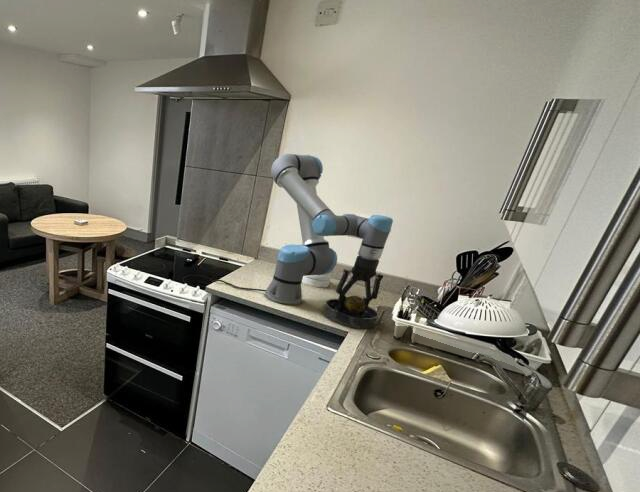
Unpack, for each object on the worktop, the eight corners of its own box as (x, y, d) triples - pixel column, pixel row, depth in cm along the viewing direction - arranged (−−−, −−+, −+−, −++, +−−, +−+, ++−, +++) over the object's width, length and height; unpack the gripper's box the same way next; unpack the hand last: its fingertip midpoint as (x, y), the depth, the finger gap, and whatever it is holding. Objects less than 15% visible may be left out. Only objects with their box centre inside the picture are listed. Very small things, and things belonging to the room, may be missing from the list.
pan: (328, 324, 151) (331, 313, 149) (318, 305, 168) (320, 295, 167) (382, 333, 148) (386, 322, 146) (366, 312, 165) (369, 303, 163)
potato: (362, 310, 160) (368, 292, 157) (361, 321, 150) (367, 302, 147) (339, 304, 164) (345, 287, 161) (337, 315, 154) (343, 296, 150)
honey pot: (306, 276, 205) (315, 243, 198) (332, 284, 197) (342, 249, 190) (296, 281, 196) (306, 246, 189) (322, 289, 188) (333, 253, 181)
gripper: (342, 256, 146) (325, 311, 155) (401, 264, 143) (380, 320, 152) (337, 250, 153) (321, 304, 162) (393, 258, 149) (373, 312, 159)
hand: (349, 311), depth 157 cm, fingers closed on potato, 7 cm apart
